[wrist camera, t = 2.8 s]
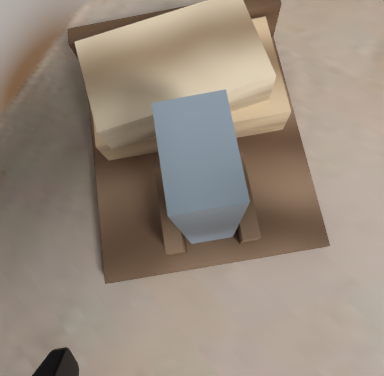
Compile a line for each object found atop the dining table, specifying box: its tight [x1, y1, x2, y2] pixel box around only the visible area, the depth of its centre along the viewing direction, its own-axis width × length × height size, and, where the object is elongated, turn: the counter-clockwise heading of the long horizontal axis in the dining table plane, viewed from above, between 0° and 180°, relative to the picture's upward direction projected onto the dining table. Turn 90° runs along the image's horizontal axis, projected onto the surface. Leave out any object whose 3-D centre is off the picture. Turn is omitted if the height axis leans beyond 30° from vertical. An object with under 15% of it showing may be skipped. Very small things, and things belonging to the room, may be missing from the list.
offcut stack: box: [74, 0, 291, 161], centre depth 20 cm, size 7×12×5 cm, turn 99°
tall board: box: [151, 89, 250, 244], centre depth 16 cm, size 4×3×10 cm, turn 9°
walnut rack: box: [68, 0, 330, 284], centre depth 21 cm, size 16×14×4 cm
